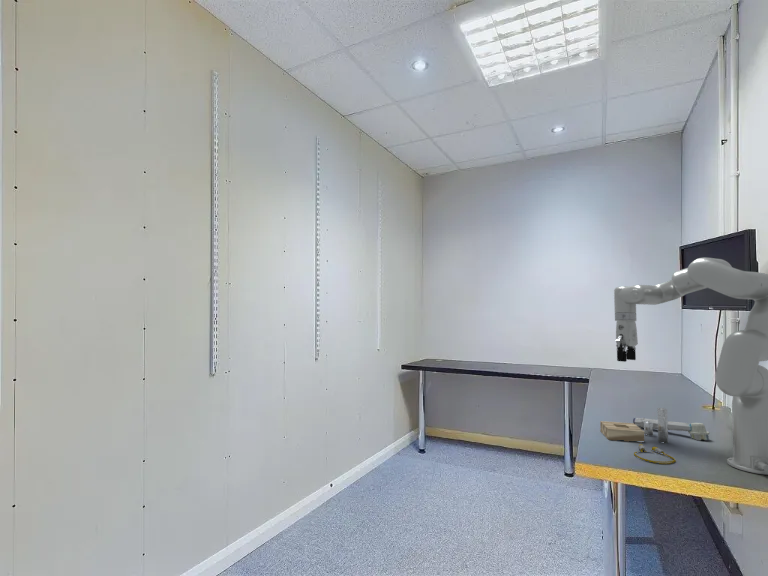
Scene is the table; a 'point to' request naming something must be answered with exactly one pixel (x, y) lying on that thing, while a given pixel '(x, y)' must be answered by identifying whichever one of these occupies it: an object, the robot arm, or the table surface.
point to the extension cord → (657, 451)
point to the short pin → (648, 427)
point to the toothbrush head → (679, 427)
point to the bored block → (621, 431)
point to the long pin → (662, 425)
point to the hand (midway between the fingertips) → (626, 360)
